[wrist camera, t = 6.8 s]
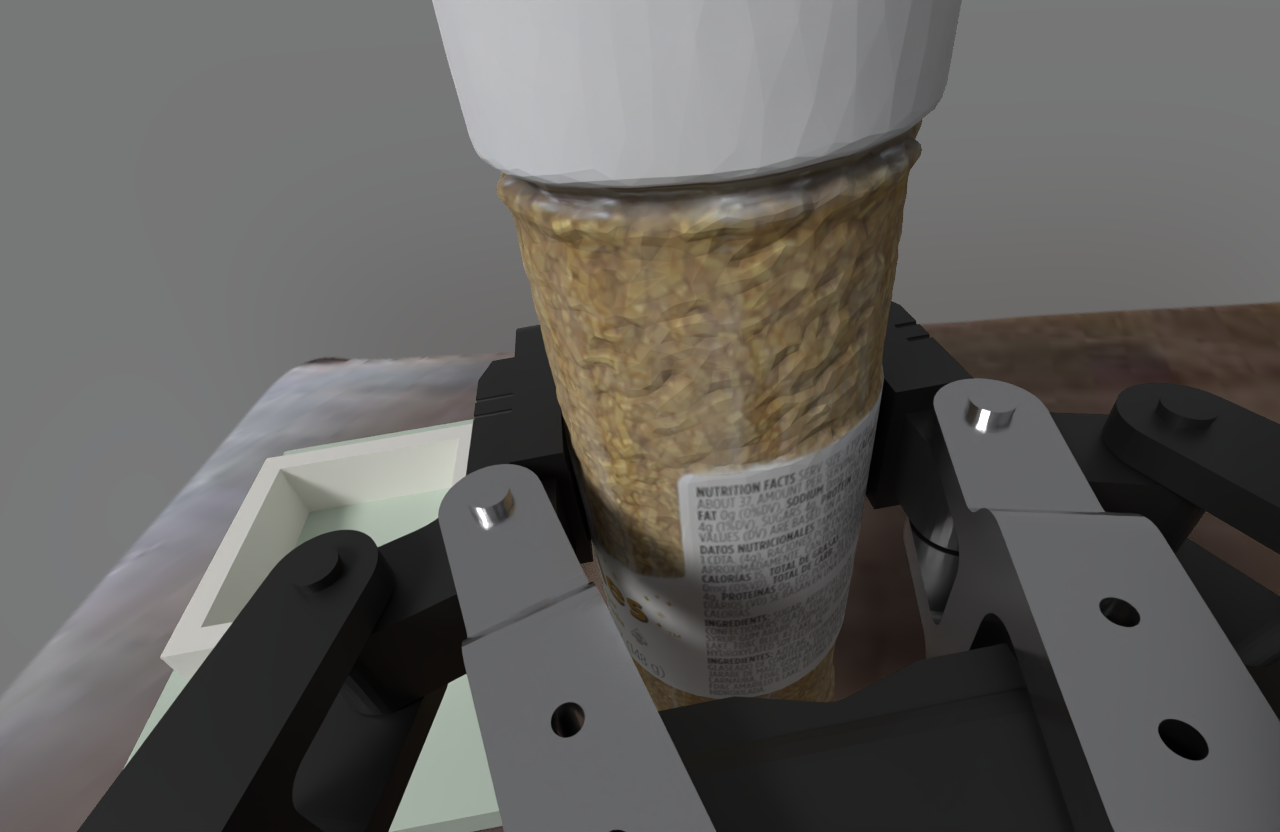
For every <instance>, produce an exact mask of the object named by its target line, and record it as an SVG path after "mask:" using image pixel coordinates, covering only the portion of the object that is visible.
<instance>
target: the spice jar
mask: <svg viewBox="0 0 1280 832" xmlns="http://www.w3.org/2000/svg"><path fill="white" fill-rule="evenodd" d="M961 1H962V0H432V2H433V5H434V9H435V13H436V17H437V20H438V25H439V28H440V32H441V36H442V40H443V44H444V48H445V52H446V55H447V59H448V63H449V67H450V70H451V73H452V77H453V80H454V84H455V87H456V91H457V94H458V98H459V101H460V105H461V108H462V112H463V115H464V119H465V122H466V126H467V129H468V133H469V136H470V138H471V141H472V144H473V146H474V148H475V150H476V152H477V154H478V155H479V157H480V158H481V159H483V160H484V161H485V162H486V163H488V164H490V165H491V166H493V167H494V168H496V169H498V170H500V171H501V179H500V180H499V182H498V185H497V194H498V196H499V198H500V199H501V200H502V201H503V202H504V203H505V205H506V206H507V207H508V208H509V210H510V211H511V212H512V214H513V218H514V222H515V225H516V230H517V235H518V240H519V245H520V250H521V255H522V260H523V265H524V269H525V271H526V274H527V276H528V279H529V281H530V286H531V293H532V296H533V301H534V306H535V309H536V312H537V315H538V318H539V322H540V325H541V332H542V336H543V340H544V344H545V350H546V353H547V357H548V360H549V364H550V367H551V371H552V375H553V379H554V382H555V385H556V394H557V399H558V402H559V404H560V407H561V410H562V414H563V420H564V427H565V434H566V440H567V446H568V452H569V456H570V460H571V464H572V468H573V472H574V475H575V478H576V482H577V486H578V490H579V494H580V498H581V502H582V506H583V510H584V514H585V517H586V521H587V525H588V529H589V533H590V536H591V541H592V544H593V548H594V552H595V556H596V560H597V564H598V568H599V572H600V576H601V580H602V583H603V587H604V591H605V594H606V598H607V602H608V606H609V610H610V614H611V616H612V619H613V621H614V623H615V625H616V627H617V629H618V631H619V633H620V635H621V637H622V639H623V641H624V643H625V645H626V647H627V649H628V651H629V653H630V656H631V658H632V660H633V662H634V664H635V666H636V668H637V670H638V672H639V674H640V676H641V678H642V680H643V682H644V684H645V686H646V688H647V690H648V693H649V695H650V697H651V699H652V701H653V703H654V705H655V707H656V709H657V711H662V710H667V709H672V708H677V707H682V706H687V705H692V704H698V703H703V702H708V701H713V700H718V699H723V698H728V697H733V696H738V697H752V698H767V699H782V700H797V701H812V702H832V701H833V697H834V679H835V670H834V664H833V655H834V650H835V643H836V638H837V636H838V634H839V632H840V629H841V627H842V624H843V620H844V615H845V610H846V604H847V598H848V593H849V587H850V582H851V576H852V571H853V565H854V559H855V554H856V548H857V542H858V536H859V530H860V524H861V518H862V512H863V506H864V500H865V493H866V487H867V481H868V474H869V468H870V463H871V457H872V451H873V445H874V439H875V432H876V426H877V420H878V414H879V408H880V402H881V395H882V388H883V381H884V374H883V367H882V357H883V346H884V340H885V336H886V330H887V321H888V317H889V310H890V305H891V299H892V290H893V285H894V280H895V273H896V266H897V260H898V244H899V241H900V237H901V233H902V223H903V208H904V203H905V199H906V194H907V181H908V175H909V171H910V169H911V168H912V166H913V165H914V163H915V162H916V161H917V160H918V158H919V157H920V155H921V151H922V149H921V144H919V142H918V141H916V140H915V138H916V136H917V133H918V131H919V129H920V127H921V123H922V119H923V118H924V117H925V116H926V115H927V114H928V113H930V112H931V111H932V110H934V109H935V107H936V106H937V104H938V102H939V101H940V99H941V98H942V96H943V93H944V90H945V86H946V84H947V79H948V74H949V68H950V63H951V57H952V51H953V46H954V40H955V34H956V29H957V23H958V17H959V12H960V6H961Z"/></svg>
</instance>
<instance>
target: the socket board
mask: <svg viewBox="0 0 1280 832" xmlns="http://www.w3.org/2000/svg"><path fill="white" fill-rule="evenodd" d="M473 420H474V419H473ZM473 420H467V421H461V422H455V423H449V424H443V425H437V426H432V427H426V428H420V429H414V430H408V431H402V432H396V433H390V434H385V435H379V436H373V437H367V438H361V439H355V440H349V441H343V442H338V443H332V444H326V445H320V446H314V447H308V448H302V449H296V450H290V451H285V452H284V454H283V456H279V457H273V458H267V459H266V461H265V463H264V465H263V466H262V468H261V470H260V472H259V474H258V476H257V478H256V480H255V481H254V483H253V485H252V487H251V489H250V491H249V493H248V494H247V496H246V498H245V500H244V502H243V504H242V506H241V507H240V509H239V511H238V513H237V515H236V517H235V519H234V521H233V522H232V524H231V526H230V528H229V530H228V532H227V534H226V535H225V537H224V539H223V541H222V543H221V545H220V547H219V549H218V550H217V552H216V554H215V556H214V558H213V560H212V562H211V563H210V565H209V567H208V569H207V571H206V573H205V575H204V576H203V578H202V580H201V582H200V584H199V586H198V588H197V590H196V591H195V593H194V595H193V597H192V599H191V601H190V603H189V604H188V606H187V608H186V610H185V612H184V614H183V616H182V617H181V619H180V621H179V623H178V625H177V627H176V629H175V631H174V632H173V634H172V636H171V638H170V640H169V642H168V644H167V645H166V647H165V649H164V651H163V653H162V655H161V657H160V658H161V659H162V660H163V661H165V662H166V663H167V664H168V665H169V666H170V667H172V668H173V669H174V670H173V672H172V674H171V676H170V678H169V680H168V682H167V684H166V686H165V688H164V690H163V692H162V694H161V696H160V698H159V700H158V702H157V704H156V706H155V708H154V710H153V712H152V714H151V716H150V718H149V720H148V722H147V724H146V726H145V728H144V730H143V732H142V733H141V735H140V737H139V739H138V741H137V743H136V745H135V747H134V749H133V751H132V753H131V755H130V757H129V759H128V761H127V763H126V765H127V764H128V762H129V761H130V760H131V758H132V757H133V756H134V754H135V753H136V752H137V750H138V749H139V748H140V746H141V745H142V744H143V742H144V741H145V740H146V738H147V737H148V736H149V734H150V733H151V732H152V730H153V729H154V728H155V726H156V725H157V724H158V722H159V721H160V720H161V718H162V717H163V715H164V714H165V713H166V711H167V710H168V709H169V707H170V706H171V705H172V703H173V702H174V701H175V699H176V698H177V697H178V695H179V694H180V693H181V691H182V690H183V689H184V687H185V686H186V685H187V683H188V682H189V681H190V679H191V678H192V677H193V675H194V674H195V672H196V671H197V670H198V668H199V667H200V666H201V664H202V663H203V662H204V660H205V659H206V658H207V656H208V655H209V654H210V652H211V651H212V650H213V648H214V647H215V646H216V644H217V643H218V642H219V640H220V639H221V638H222V636H223V635H224V634H225V632H226V631H227V630H228V628H229V627H230V625H231V624H232V623H233V621H234V620H235V619H236V617H237V616H238V615H239V613H240V612H241V611H242V609H243V608H244V607H245V605H246V604H247V603H248V601H249V600H250V599H251V597H252V596H253V595H254V593H255V592H256V591H257V589H258V588H259V587H260V585H261V584H262V582H263V581H264V580H265V578H266V577H267V576H268V574H269V573H270V572H271V570H272V569H273V568H274V567H275V566H276V565H277V563H278V562H279V561H280V560H281V559H282V558H283V557H285V556H286V555H287V554H288V553H289V552H291V551H292V550H293V549H295V548H296V547H298V546H299V545H301V544H302V543H304V542H306V541H308V540H310V539H312V538H314V537H316V536H319V535H321V534H324V533H328V532H331V531H337V530H356V531H360V532H363V533H365V534H367V535H368V536H370V537H371V538H372V539H373V540H374V542H375V543H376V545H377V547H380V546H382V545H384V544H386V543H389V542H391V541H393V540H395V539H398V538H400V537H402V536H405V535H407V534H409V533H411V532H414V531H416V530H418V529H420V528H422V527H424V526H426V525H428V524H429V523H431V522H433V521H434V520H436V519H437V518H438V513H439V507H440V504H441V501H442V500H443V498H444V496H445V495H446V493H447V492H448V491H449V490H450V488H451V487H452V486H454V485H455V484H456V483H457V482H458V481H459V480H461V479H462V478H463V477H465V476H466V470H467V463H468V455H469V448H470V441H471V433H472V426H473ZM126 765H125V767H126ZM125 767H124V768H125ZM498 826H503V825H502V821H501V817H500V812H499V808H498V804H497V800H496V795H495V791H494V787H493V783H492V779H491V774H490V770H489V766H488V762H487V757H486V753H485V749H484V745H483V741H482V736H481V732H480V728H479V724H478V719H477V715H476V711H475V707H474V703H473V698H472V694H471V690H470V686H469V681H468V677H467V674H465V675H463V676H461V677H459V678H458V679H456V680H454V681H452V682H450V683H448V686H447V689H446V692H445V694H444V697H443V699H442V702H441V704H440V707H439V709H438V711H437V714H436V716H435V719H434V721H433V724H432V726H431V729H430V731H429V734H428V736H427V738H426V741H425V743H424V746H423V748H422V751H421V753H420V756H419V758H418V761H417V763H416V766H415V768H414V770H413V773H412V775H411V778H410V780H409V783H408V785H407V788H406V790H405V793H404V795H403V797H402V800H401V802H400V805H399V807H398V810H397V812H396V815H395V817H394V820H393V822H392V825H391V827H390V829H389V832H473V831H478V830H483V829H488V828H493V827H498Z"/></svg>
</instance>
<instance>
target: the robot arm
mask: <svg viewBox="0 0 1280 832" xmlns="http://www.w3.org/2000/svg"><path fill="white" fill-rule="evenodd" d="M882 367H883V374H884V381H883V388H882V395H881V402H880V408H879V414H878V420H877V426H876V432H875V439H874V445H873V451H872V457H871V463H870V468H869V474H868V481H867V487H866V493H865V494H866V496H867V498H868V499H869V501H870V503H871V504H872V506H873V508H874V509H879V508H884V507H889V506H895V505H901V507H902V508H903V510H904V511H905V513H906V514H907V515H906V520H905V524H904V529H903V538H904V543H905V548H906V552H907V557H908V562H909V566H910V571H911V575H912V580H913V585H914V589H915V594H916V599H917V603H918V608H919V613H920V617H921V622H922V627H923V631H924V637H925V646H926V659H923V660H918V661H916V662H914V663H912V664H910V665H908V666H907V667H905V668H903V669H901V670H899V671H897V672H895V673H893V674H891V675H889V676H887V677H886V678H884V679H882V680H880V681H878V682H876V683H874V684H872V685H870V686H868V687H866V688H865V689H863V690H861V691H859V692H857V693H855V694H853V695H851V696H849V697H847V698H845V699H843V700H840V701H837V702H812V701H797V700H782V699H767V698H752V697H738V696H733V697H728V698H723V699H718V700H713V701H708V702H703V703H698V704H692V705H687V706H682V707H677V708H672V709H667V710H662V711H657V709H656V707H655V705H654V703H653V701H652V699H651V697H650V695H649V693H648V690H647V688H646V686H645V684H644V682H643V680H642V678H641V676H640V674H639V672H638V670H637V668H636V666H635V664H634V662H633V660H632V658H631V656H630V653H629V651H628V649H627V647H626V645H625V643H624V641H623V639H622V637H621V635H620V633H619V631H618V629H617V627H616V625H615V623H614V621H613V619H612V616H611V614H610V612H609V610H608V608H607V606H606V604H605V602H604V600H603V598H602V596H601V594H600V592H599V591H598V589H597V587H596V585H595V584H594V583H593V582H590V583H589V581H588V579H587V578H586V576H585V574H584V571H583V569H582V567H581V565H580V564H581V563H586V562H592V561H593V554H592V543H591V536H590V533H589V529H588V525H587V521H586V517H585V514H584V510H583V506H582V502H581V498H580V494H579V490H578V486H577V482H576V478H575V475H574V472H573V468H572V464H571V460H570V456H569V452H568V446H567V440H566V434H565V427H564V420H563V414H562V410H561V407H560V404H559V402H558V399H557V394H556V385H555V382H554V379H553V375H552V371H551V367H550V364H549V360H548V357H547V353H546V350H545V344H544V340H543V336H542V332H541V325H536V326H530V327H524V328H518V329H517V330H516V344H515V357H513V358H508V359H502V360H496V361H492V363H491V364H490V365H489V367H488V368H487V369H486V371H485V372H484V374H483V375H482V376H481V378H480V379H479V381H478V389H477V396H476V401H477V403H475V411H474V418H475V419H474V420H473V426H472V433H471V441H470V448H469V455H468V463H467V470H466V476H465V477H463V478H462V479H461V480H459V481H458V482H457V483H456V484H455V485H454V486H452V487H451V488H450V490H449V491H448V492H447V493H446V495H445V496H444V498H443V500H442V501H441V504H440V507H439V513H438V518H437V519H436V520H434V521H433V522H431V523H429V524H428V525H426V526H424V527H422V528H420V529H418V530H416V531H414V532H411V533H409V534H407V535H405V536H402V537H400V538H398V539H395V540H393V541H391V542H389V543H386V544H384V545H382V546H380V547H377V545H376V543H375V542H374V540H373V539H372V538H371V537H370V536H368V535H367V534H365V533H363V532H360V531H356V530H337V531H331V532H328V533H324V534H321V535H319V536H316V537H314V538H312V539H310V540H308V541H306V542H304V543H302V544H301V545H299V546H298V547H296V548H295V549H293V550H292V551H291V552H289V553H288V554H287V555H286V556H285V557H283V558H282V559H281V560H280V561H279V562H278V563H277V565H276V566H275V567H274V568H273V569H272V570H271V572H270V573H269V574H268V576H267V577H266V578H265V580H264V581H263V582H262V584H261V585H260V587H259V588H258V589H257V591H256V592H255V593H254V595H253V596H252V597H251V599H250V600H249V601H248V603H247V604H246V605H245V607H244V608H243V609H242V611H241V612H240V613H239V615H238V616H237V617H236V619H235V620H234V621H233V623H232V624H231V625H230V627H229V628H228V630H227V631H226V632H225V634H224V635H223V636H222V638H221V639H220V640H219V642H218V643H217V644H216V646H215V647H214V648H213V650H212V651H211V652H210V654H209V655H208V656H207V658H206V659H205V660H204V662H203V663H202V664H201V666H200V667H199V668H198V670H197V671H196V672H195V674H194V675H193V677H192V678H191V679H190V681H189V682H188V683H187V685H186V686H185V687H184V689H183V690H182V691H181V693H180V694H179V695H178V697H177V698H176V699H175V701H174V702H173V703H172V705H171V706H170V707H169V709H168V710H167V711H166V713H165V714H164V715H163V717H162V718H161V720H160V721H159V722H158V724H157V725H156V726H155V728H154V729H153V730H152V732H151V733H150V734H149V736H148V737H147V738H146V740H145V741H144V742H143V744H142V745H141V746H140V748H139V749H138V750H137V752H136V753H135V754H134V756H133V757H132V758H131V760H130V761H129V762H128V764H127V765H126V767H125V768H124V769H123V771H122V772H121V773H120V775H119V776H118V777H117V779H116V780H115V781H114V783H113V784H112V785H111V787H110V788H109V789H108V791H107V792H106V793H105V795H104V796H103V797H102V799H101V800H100V801H99V803H98V804H97V805H96V807H95V808H94V810H93V811H92V812H91V814H90V815H89V816H88V818H87V819H86V820H85V822H84V823H83V824H82V826H81V827H80V828H79V830H78V831H77V832H389V829H390V827H391V825H392V822H393V820H394V817H395V815H396V812H397V810H398V807H399V805H400V802H401V800H402V797H403V795H404V793H405V790H406V788H407V785H408V783H409V780H410V778H411V775H412V773H413V770H414V768H415V766H416V763H417V761H418V758H419V756H420V753H421V751H422V748H423V746H424V743H425V741H426V738H427V736H428V734H429V731H430V729H431V726H432V724H433V721H434V719H435V716H436V714H437V711H438V709H439V707H440V704H441V702H442V699H443V697H444V694H445V692H446V689H447V686H448V683H450V682H452V681H454V680H456V679H458V678H459V677H461V676H463V675H465V674H467V677H468V681H469V686H470V690H471V694H472V698H473V703H474V707H475V711H476V715H477V719H478V724H479V728H480V732H481V736H482V741H483V745H484V749H485V753H486V757H487V762H488V766H489V770H490V774H491V779H492V783H493V787H494V791H495V795H496V800H497V804H498V808H499V812H500V817H501V821H502V825H503V829H504V832H1280V597H1279V596H1278V595H1276V594H1275V593H1273V592H1272V591H1270V590H1268V589H1267V588H1265V587H1264V586H1262V585H1260V584H1259V583H1257V582H1256V581H1254V580H1253V579H1251V578H1249V577H1248V576H1246V575H1245V574H1243V573H1241V572H1240V571H1238V570H1237V569H1235V568H1234V567H1232V566H1230V565H1229V564H1227V563H1226V562H1224V561H1223V560H1221V559H1219V558H1218V557H1216V556H1215V555H1213V554H1211V553H1210V552H1208V551H1207V550H1205V549H1204V548H1202V547H1200V546H1199V545H1197V544H1196V543H1194V542H1192V541H1191V540H1189V539H1188V538H1187V537H1188V535H1189V534H1190V533H1191V531H1192V530H1193V528H1194V527H1195V525H1196V524H1197V523H1198V521H1199V520H1200V518H1201V517H1202V515H1203V514H1204V513H1205V511H1207V512H1209V513H1210V514H1212V515H1214V516H1216V517H1217V518H1219V519H1221V520H1222V521H1224V522H1226V523H1227V524H1229V525H1231V526H1233V527H1234V528H1236V529H1238V530H1239V531H1241V532H1243V533H1244V534H1246V535H1248V536H1250V537H1251V538H1253V539H1255V540H1256V541H1258V542H1260V543H1261V544H1263V545H1265V546H1266V547H1268V548H1270V549H1272V550H1273V551H1275V552H1277V553H1278V554H1280V424H1278V423H1276V422H1274V421H1271V420H1269V419H1267V418H1265V417H1263V416H1260V415H1258V414H1256V413H1254V412H1252V411H1249V410H1247V409H1245V408H1243V407H1241V406H1238V405H1236V404H1234V403H1232V402H1230V401H1228V400H1225V399H1223V398H1221V397H1219V396H1216V395H1214V394H1211V393H1209V392H1206V391H1203V390H1200V389H1196V388H1192V387H1188V386H1183V385H1177V384H1169V383H1146V384H1139V385H1135V386H1132V387H1129V388H1127V389H1125V390H1124V391H1122V392H1121V393H1120V394H1119V396H1118V398H1117V400H1116V402H1115V404H1114V406H1113V408H1112V410H1111V412H1110V414H1109V415H1103V414H1075V413H1052V412H1048V410H1047V408H1046V407H1045V405H1044V404H1043V403H1042V402H1041V401H1040V400H1039V399H1038V398H1037V397H1035V396H1034V395H1033V394H1031V393H1029V392H1028V391H1026V390H1024V389H1022V388H1020V387H1017V386H1015V385H1012V384H1009V383H1006V382H1002V381H997V380H991V379H978V378H975V379H974V378H973V377H972V376H971V375H970V374H969V373H968V372H967V371H966V370H965V369H964V368H963V367H962V366H961V365H960V364H959V363H958V362H957V361H956V360H955V359H954V358H953V357H952V356H951V355H950V354H949V353H948V352H947V351H946V350H945V349H944V348H943V347H942V346H941V345H940V344H939V343H938V342H937V341H936V340H935V339H934V338H933V337H932V338H930V337H929V333H928V332H927V331H926V330H925V329H924V328H923V327H922V326H921V325H920V324H916V320H915V319H914V318H913V317H912V316H911V315H910V314H908V312H906V310H904V308H903V307H902V306H900V305H899V304H896V303H894V302H892V301H891V305H890V310H889V317H888V321H887V330H886V336H885V340H884V346H883V357H882Z"/></svg>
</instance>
